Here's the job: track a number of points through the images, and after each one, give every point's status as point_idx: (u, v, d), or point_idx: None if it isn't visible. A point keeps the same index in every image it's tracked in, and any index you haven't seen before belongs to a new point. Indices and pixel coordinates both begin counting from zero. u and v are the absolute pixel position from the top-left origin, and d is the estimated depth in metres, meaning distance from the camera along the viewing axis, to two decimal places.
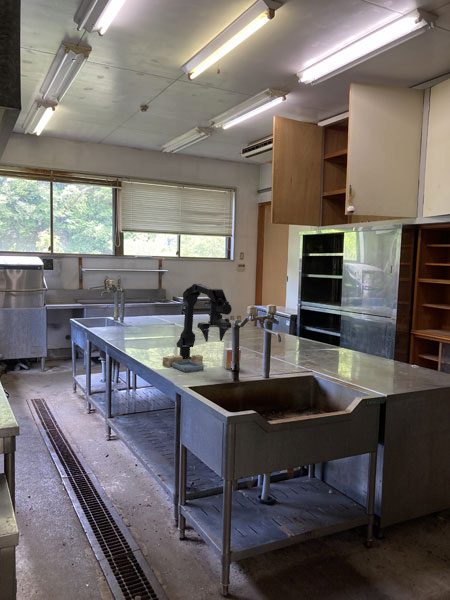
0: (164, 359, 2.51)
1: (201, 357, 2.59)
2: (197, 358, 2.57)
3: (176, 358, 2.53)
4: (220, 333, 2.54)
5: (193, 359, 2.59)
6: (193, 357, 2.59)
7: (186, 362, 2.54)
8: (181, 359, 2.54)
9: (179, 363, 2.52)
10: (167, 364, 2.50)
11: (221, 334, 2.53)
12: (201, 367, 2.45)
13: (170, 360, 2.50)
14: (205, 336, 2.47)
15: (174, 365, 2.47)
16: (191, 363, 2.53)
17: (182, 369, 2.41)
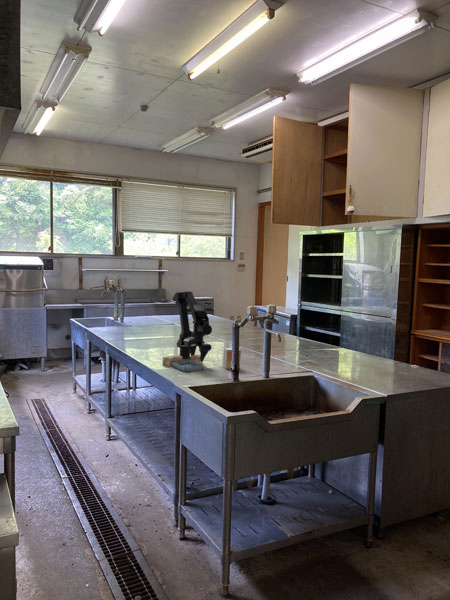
0: (164, 359, 2.51)
1: None
2: (197, 358, 2.57)
3: (176, 358, 2.53)
4: None
5: (193, 359, 2.59)
6: (193, 357, 2.59)
7: (186, 362, 2.54)
8: (181, 359, 2.54)
9: (179, 363, 2.52)
10: (167, 364, 2.50)
11: None
12: (201, 367, 2.45)
13: (170, 360, 2.50)
14: None
15: (174, 365, 2.47)
16: (191, 363, 2.53)
17: (182, 369, 2.41)
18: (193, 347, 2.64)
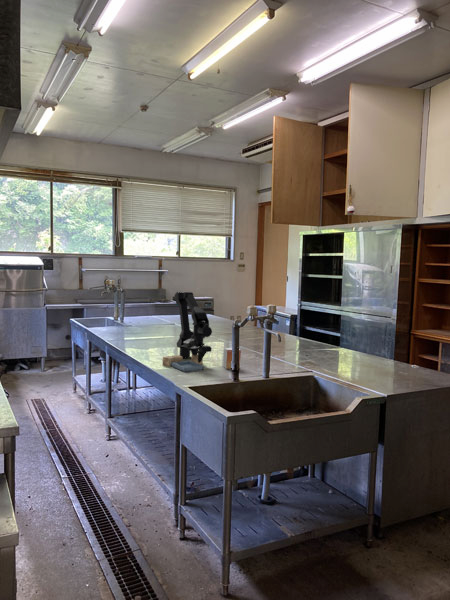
0: (164, 359, 2.51)
1: None
2: (197, 358, 2.57)
3: (176, 358, 2.53)
4: None
5: (193, 359, 2.59)
6: (193, 357, 2.59)
7: (186, 362, 2.54)
8: (181, 359, 2.54)
9: (179, 363, 2.52)
10: (167, 364, 2.50)
11: None
12: (201, 367, 2.45)
13: (170, 360, 2.50)
14: None
15: (174, 365, 2.47)
16: (191, 363, 2.53)
17: (182, 369, 2.41)
18: (195, 350, 2.62)
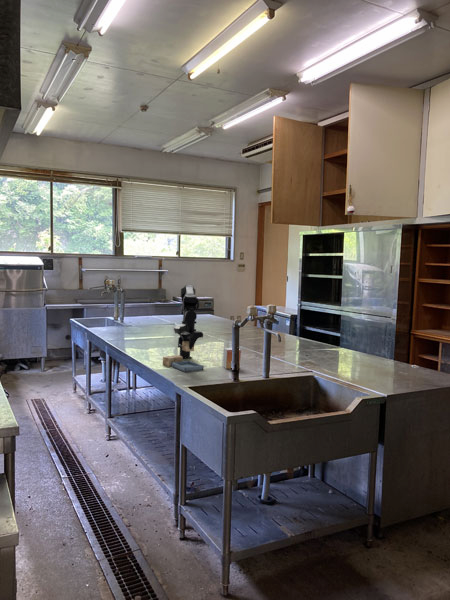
0: (164, 359, 2.51)
1: None
2: (188, 344, 2.44)
3: (176, 358, 2.53)
4: None
5: (184, 345, 2.46)
6: (184, 343, 2.46)
7: (186, 362, 2.54)
8: (181, 359, 2.54)
9: (179, 363, 2.52)
10: (167, 364, 2.50)
11: None
12: (201, 367, 2.45)
13: (170, 360, 2.50)
14: None
15: (174, 365, 2.47)
16: (191, 363, 2.53)
17: (182, 369, 2.41)
18: (186, 336, 2.49)
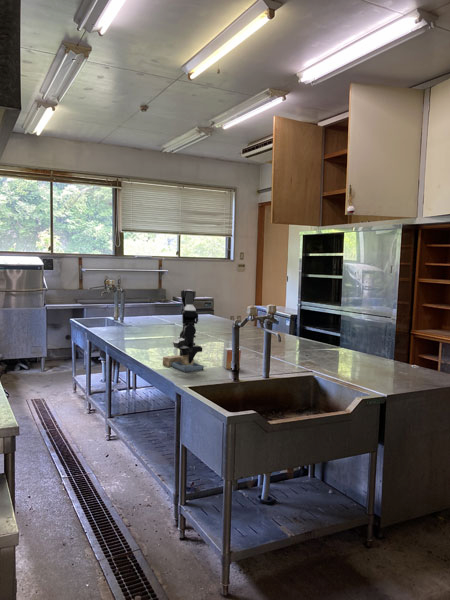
0: (164, 359, 2.51)
1: None
2: (187, 358, 2.45)
3: (176, 358, 2.53)
4: None
5: (183, 359, 2.46)
6: (183, 357, 2.46)
7: None
8: (181, 359, 2.54)
9: (179, 363, 2.52)
10: (167, 364, 2.50)
11: None
12: (201, 367, 2.45)
13: (170, 360, 2.50)
14: None
15: (174, 365, 2.47)
16: None
17: (182, 369, 2.41)
18: (185, 350, 2.50)
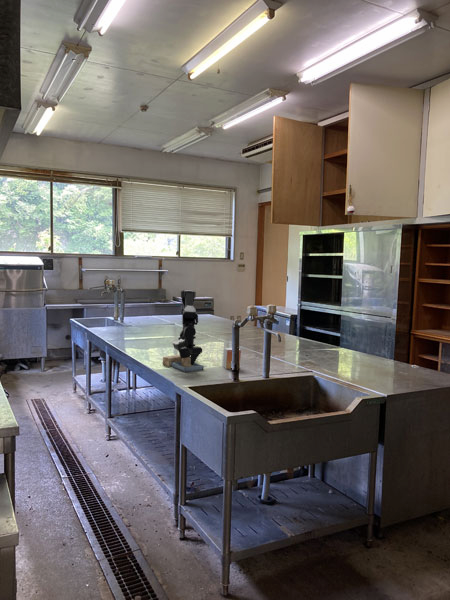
0: (164, 359, 2.51)
1: None
2: (187, 361, 2.45)
3: (176, 358, 2.53)
4: None
5: (183, 362, 2.46)
6: (183, 360, 2.46)
7: None
8: None
9: (179, 363, 2.52)
10: (167, 364, 2.50)
11: None
12: (201, 367, 2.45)
13: (170, 360, 2.50)
14: None
15: (174, 365, 2.47)
16: None
17: (182, 369, 2.41)
18: (183, 350, 2.51)
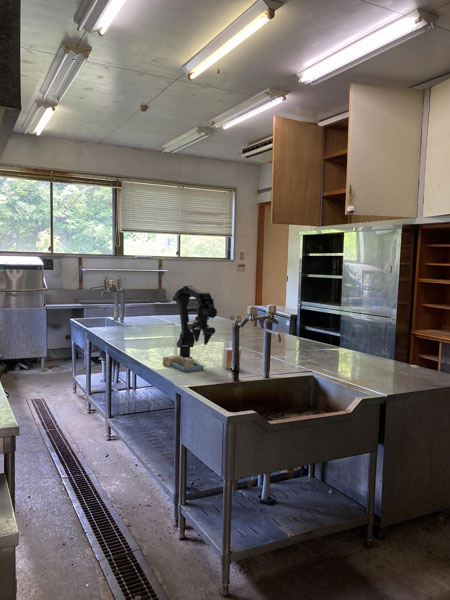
0: (164, 359, 2.51)
1: (191, 360, 2.46)
2: (187, 361, 2.45)
3: (176, 358, 2.53)
4: None
5: (183, 362, 2.46)
6: (183, 360, 2.46)
7: None
8: (181, 359, 2.54)
9: (179, 363, 2.52)
10: (167, 364, 2.50)
11: None
12: (201, 367, 2.45)
13: (170, 360, 2.50)
14: None
15: (174, 365, 2.47)
16: None
17: (182, 369, 2.41)
18: (197, 330, 2.62)
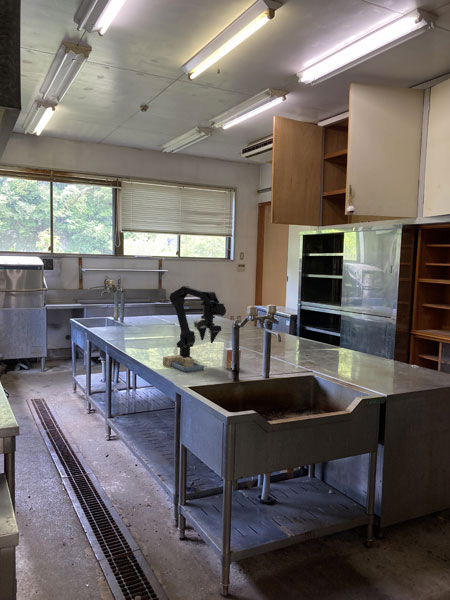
0: (164, 359, 2.51)
1: (191, 360, 2.46)
2: (187, 361, 2.45)
3: (176, 358, 2.53)
4: None
5: (183, 362, 2.46)
6: (183, 360, 2.46)
7: None
8: (181, 359, 2.54)
9: (179, 363, 2.52)
10: (167, 364, 2.50)
11: None
12: (201, 367, 2.45)
13: (170, 360, 2.50)
14: None
15: (174, 365, 2.47)
16: None
17: (182, 369, 2.41)
18: (203, 329, 2.66)
